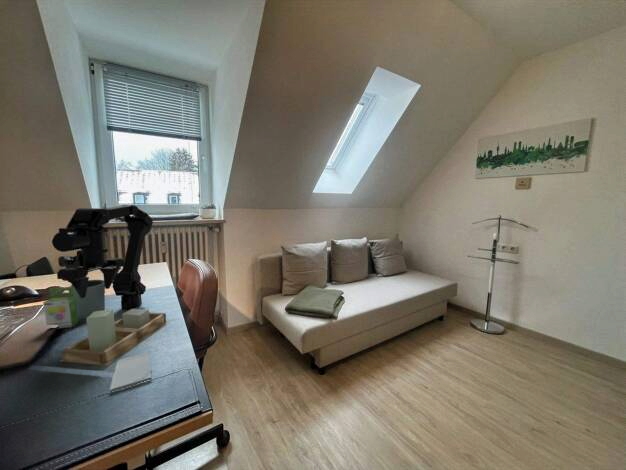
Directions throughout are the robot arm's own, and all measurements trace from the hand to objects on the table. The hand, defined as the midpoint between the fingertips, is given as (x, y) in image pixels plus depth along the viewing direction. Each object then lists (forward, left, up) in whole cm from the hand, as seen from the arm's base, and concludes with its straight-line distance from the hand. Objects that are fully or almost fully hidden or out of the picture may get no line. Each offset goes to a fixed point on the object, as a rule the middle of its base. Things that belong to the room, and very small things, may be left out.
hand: (95, 293), depth 83 cm
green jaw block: (+12, +14, -12) cm, 22 cm away
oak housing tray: (+6, +14, -13) cm, 20 cm away
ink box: (0, -14, -13) cm, 20 cm away
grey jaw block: (0, +14, -12) cm, 18 cm away
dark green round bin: (-10, -14, -13) cm, 22 cm away
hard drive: (+18, +28, -14) cm, 36 cm away
